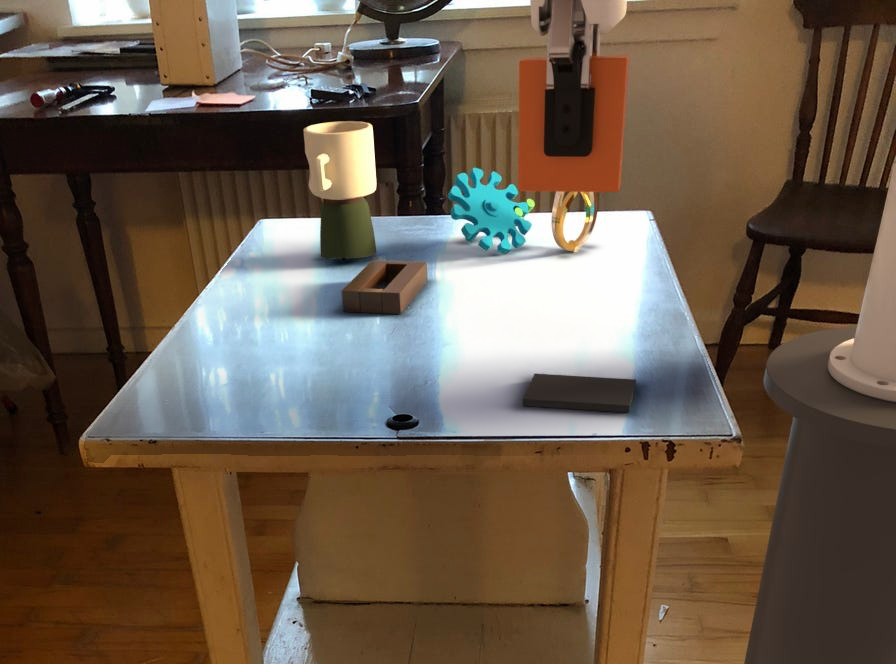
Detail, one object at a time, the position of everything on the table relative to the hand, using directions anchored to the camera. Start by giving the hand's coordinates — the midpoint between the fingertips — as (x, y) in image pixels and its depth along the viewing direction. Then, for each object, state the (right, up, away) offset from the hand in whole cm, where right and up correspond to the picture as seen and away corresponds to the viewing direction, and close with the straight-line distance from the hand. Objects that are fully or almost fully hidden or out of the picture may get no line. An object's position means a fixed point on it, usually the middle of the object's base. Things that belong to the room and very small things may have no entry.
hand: (570, 150), depth 67 cm
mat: (+2, -15, +8) cm, 17 cm away
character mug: (-18, +8, +41) cm, 45 cm away
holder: (-13, 0, +30) cm, 33 cm away
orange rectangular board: (0, -2, +2) cm, 3 cm away
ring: (+6, +8, +39) cm, 40 cm away
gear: (-2, +10, +42) cm, 43 cm away
